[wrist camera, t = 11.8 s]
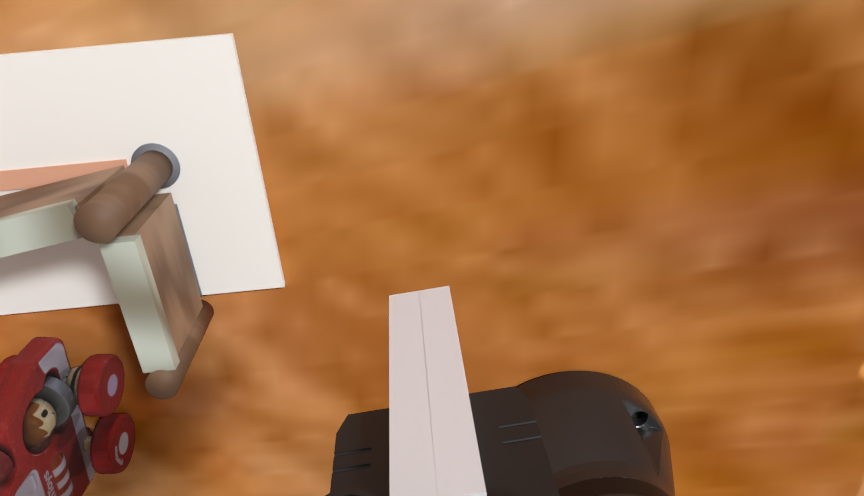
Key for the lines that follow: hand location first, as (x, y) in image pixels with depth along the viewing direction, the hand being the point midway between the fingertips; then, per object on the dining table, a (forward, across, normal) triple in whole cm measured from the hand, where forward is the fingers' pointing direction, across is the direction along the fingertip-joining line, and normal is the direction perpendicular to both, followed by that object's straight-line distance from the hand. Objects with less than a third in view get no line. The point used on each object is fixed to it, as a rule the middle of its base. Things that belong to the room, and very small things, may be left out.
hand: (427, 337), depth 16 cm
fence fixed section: (+24, +15, +6) cm, 29 cm away
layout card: (+24, +19, +1) cm, 30 cm away
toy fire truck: (+25, +26, +16) cm, 39 cm away
